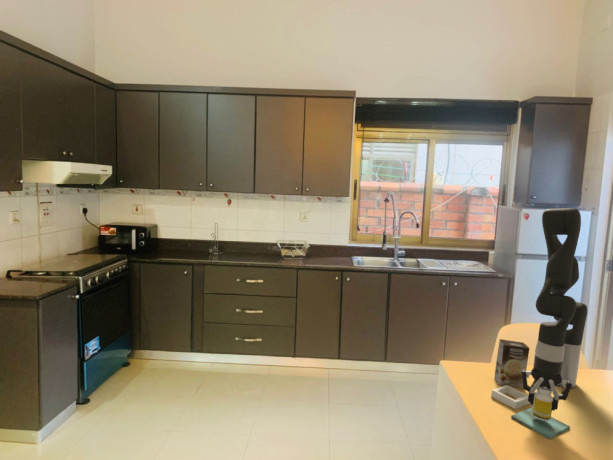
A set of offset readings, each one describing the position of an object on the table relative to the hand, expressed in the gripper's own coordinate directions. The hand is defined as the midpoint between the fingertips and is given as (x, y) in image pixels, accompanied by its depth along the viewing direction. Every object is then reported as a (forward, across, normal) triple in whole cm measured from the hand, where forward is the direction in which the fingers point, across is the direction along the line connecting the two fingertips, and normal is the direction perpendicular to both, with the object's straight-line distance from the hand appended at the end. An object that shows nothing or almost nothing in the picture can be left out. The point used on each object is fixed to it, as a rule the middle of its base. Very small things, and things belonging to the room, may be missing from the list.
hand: (542, 406), depth 125 cm
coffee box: (+6, -10, +25) cm, 28 cm away
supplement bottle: (+4, 0, 0) cm, 4 cm away
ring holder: (+6, -9, +11) cm, 15 cm away
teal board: (+6, 0, 0) cm, 6 cm away
